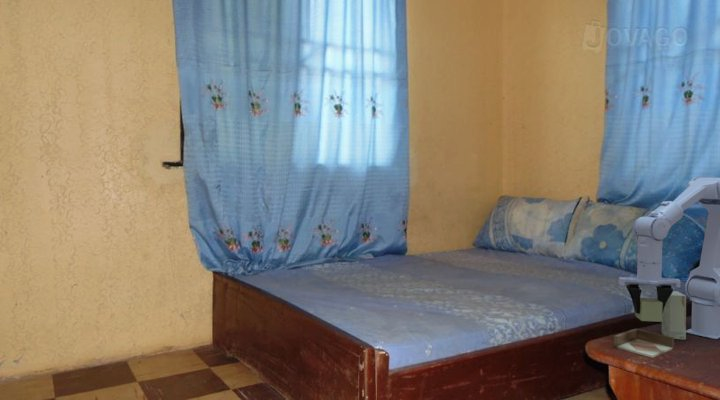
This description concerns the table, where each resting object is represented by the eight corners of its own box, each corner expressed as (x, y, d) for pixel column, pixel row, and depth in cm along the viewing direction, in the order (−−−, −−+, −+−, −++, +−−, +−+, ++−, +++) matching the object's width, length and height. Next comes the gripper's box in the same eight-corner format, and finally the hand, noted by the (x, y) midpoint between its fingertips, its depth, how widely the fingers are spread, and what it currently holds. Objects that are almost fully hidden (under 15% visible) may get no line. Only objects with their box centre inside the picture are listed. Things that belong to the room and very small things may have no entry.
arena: (635, 338, 148) (635, 328, 147) (673, 348, 139) (674, 337, 139) (613, 347, 141) (613, 335, 141) (652, 357, 133) (652, 345, 133)
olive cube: (635, 315, 145) (635, 297, 145) (655, 316, 145) (655, 298, 144) (641, 320, 141) (641, 302, 140) (662, 321, 140) (662, 302, 139)
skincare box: (686, 340, 146) (687, 296, 145) (669, 339, 147) (669, 295, 146) (677, 333, 152) (678, 290, 152) (660, 332, 153) (661, 290, 152)
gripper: (624, 264, 139) (623, 315, 140) (685, 265, 136) (684, 318, 137) (616, 259, 146) (615, 308, 147) (674, 260, 143) (673, 310, 144)
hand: (648, 312), depth 142 cm, fingers closed on olive cube, 5 cm apart
